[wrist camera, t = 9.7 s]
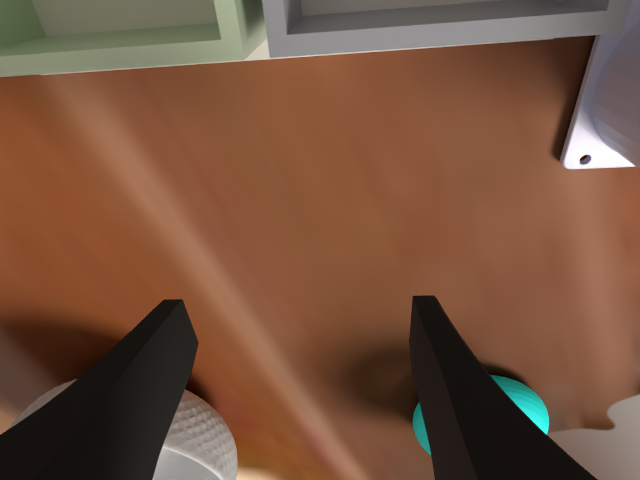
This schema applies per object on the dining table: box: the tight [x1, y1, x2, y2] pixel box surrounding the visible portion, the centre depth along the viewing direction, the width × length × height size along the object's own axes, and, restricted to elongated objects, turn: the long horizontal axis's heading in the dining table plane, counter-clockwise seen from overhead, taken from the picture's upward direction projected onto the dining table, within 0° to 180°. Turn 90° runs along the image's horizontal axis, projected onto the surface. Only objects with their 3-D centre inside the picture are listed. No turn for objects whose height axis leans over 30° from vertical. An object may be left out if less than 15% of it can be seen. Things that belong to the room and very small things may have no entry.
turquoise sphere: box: [413, 375, 549, 455], centre depth 28 cm, size 10×10×10 cm
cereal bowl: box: [9, 379, 237, 480], centre depth 32 cm, size 17×17×7 cm
